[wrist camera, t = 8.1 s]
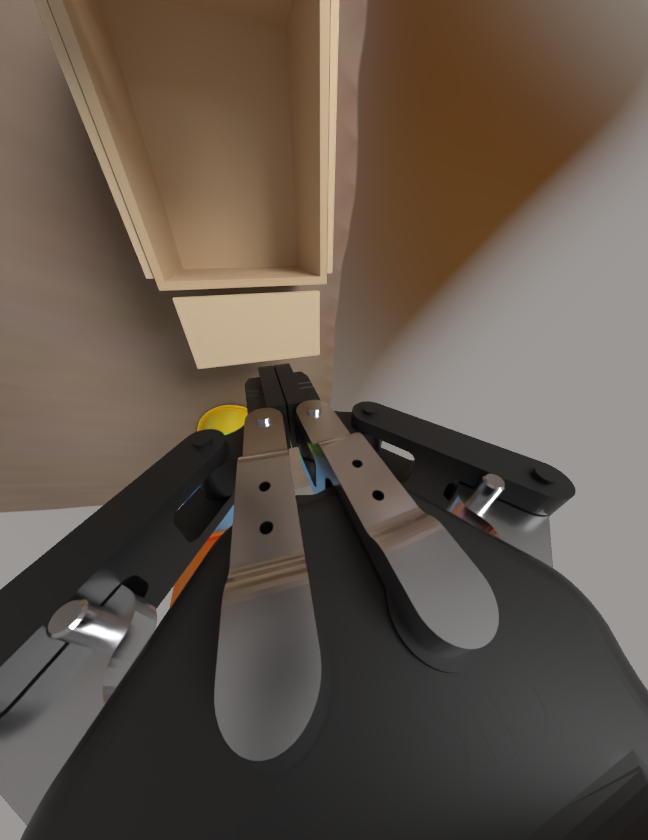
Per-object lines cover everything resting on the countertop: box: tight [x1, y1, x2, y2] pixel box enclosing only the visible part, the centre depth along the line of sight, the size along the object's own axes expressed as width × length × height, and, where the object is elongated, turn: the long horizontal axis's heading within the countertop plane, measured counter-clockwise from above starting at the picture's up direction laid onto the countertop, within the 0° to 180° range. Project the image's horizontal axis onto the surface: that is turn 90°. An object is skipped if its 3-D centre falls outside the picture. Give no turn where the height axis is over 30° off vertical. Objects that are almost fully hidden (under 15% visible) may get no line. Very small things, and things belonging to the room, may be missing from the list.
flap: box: [173, 290, 320, 369], centre depth 22 cm, size 1×12×6 cm
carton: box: [34, 0, 339, 291], centre depth 18 cm, size 17×15×10 cm
